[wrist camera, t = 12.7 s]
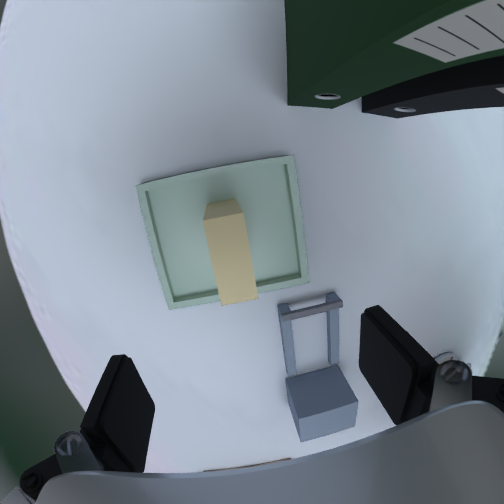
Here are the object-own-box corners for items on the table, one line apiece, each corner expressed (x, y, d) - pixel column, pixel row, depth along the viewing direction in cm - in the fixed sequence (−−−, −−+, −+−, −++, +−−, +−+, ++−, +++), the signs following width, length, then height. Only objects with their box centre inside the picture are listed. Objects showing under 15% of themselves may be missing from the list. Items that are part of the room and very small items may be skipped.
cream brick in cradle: (235, 198, 29) (243, 212, 21) (247, 261, 31) (258, 298, 23) (207, 203, 29) (202, 220, 20) (219, 266, 31) (221, 305, 23)
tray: (289, 155, 29) (293, 154, 27) (304, 276, 33) (309, 282, 32) (140, 184, 28) (135, 185, 26) (171, 302, 32) (169, 310, 31)
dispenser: (336, 291, 35) (365, 323, 27) (336, 391, 40) (354, 426, 33) (274, 305, 34) (290, 343, 26) (288, 404, 40) (300, 442, 32)
